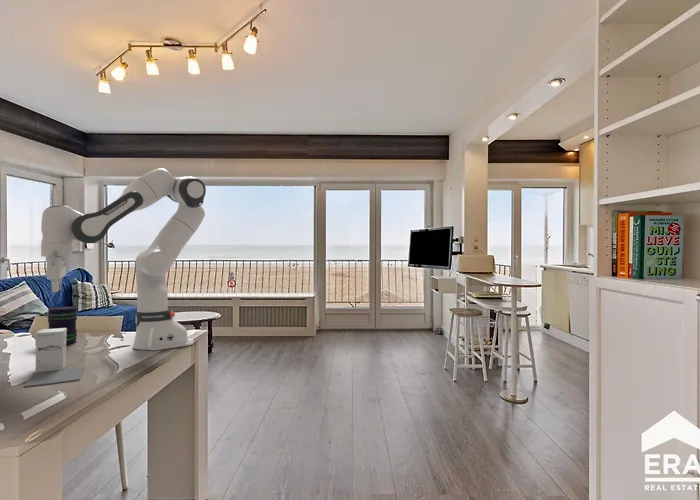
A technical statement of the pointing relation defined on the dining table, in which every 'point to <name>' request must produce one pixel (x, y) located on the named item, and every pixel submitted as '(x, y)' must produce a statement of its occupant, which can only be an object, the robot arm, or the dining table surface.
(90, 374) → the dining table surface
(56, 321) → the storage jar
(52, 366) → the supplement box
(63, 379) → the mat
